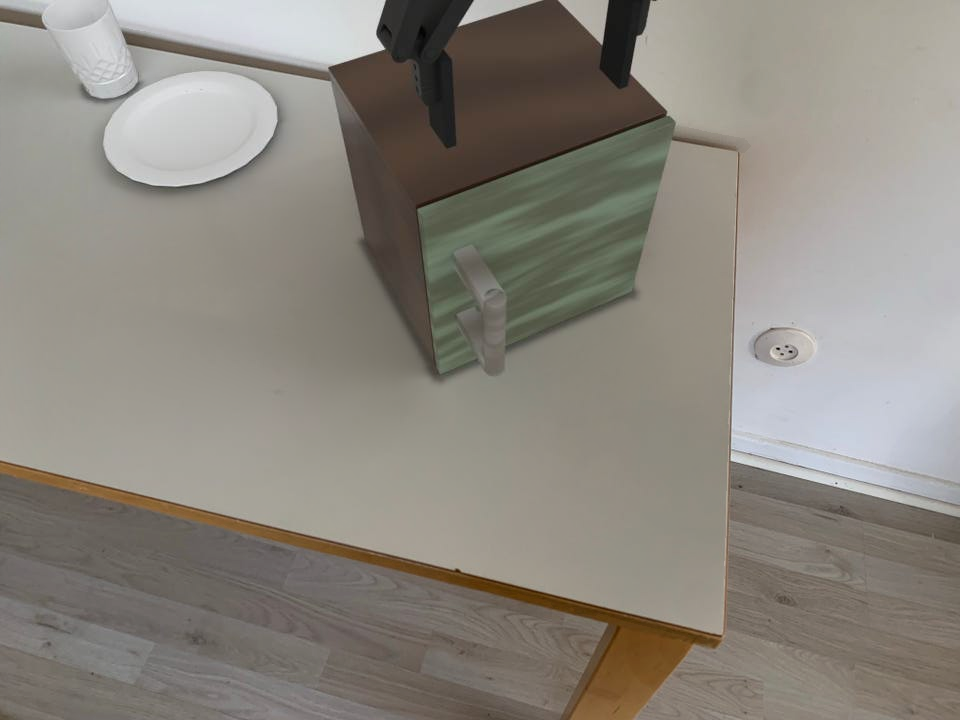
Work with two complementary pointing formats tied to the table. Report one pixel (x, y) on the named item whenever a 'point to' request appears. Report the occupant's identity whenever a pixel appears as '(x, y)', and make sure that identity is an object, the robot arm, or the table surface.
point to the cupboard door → (539, 245)
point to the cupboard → (472, 127)
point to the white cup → (92, 45)
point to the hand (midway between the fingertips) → (530, 106)
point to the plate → (190, 129)
